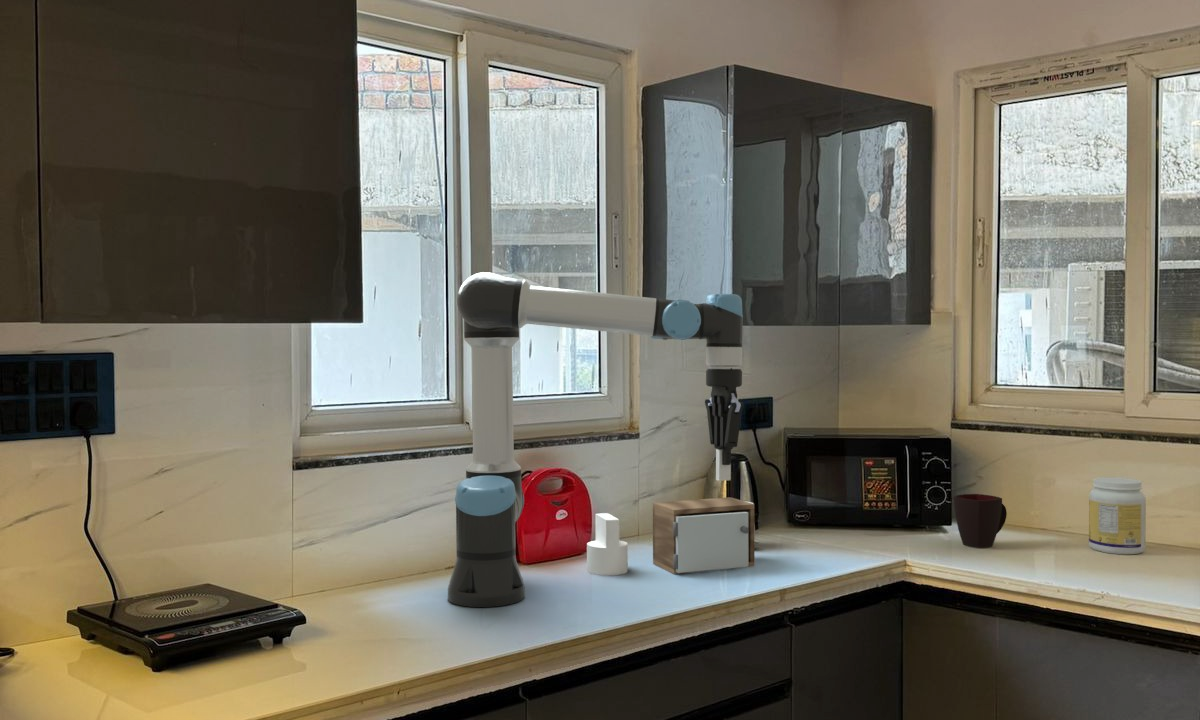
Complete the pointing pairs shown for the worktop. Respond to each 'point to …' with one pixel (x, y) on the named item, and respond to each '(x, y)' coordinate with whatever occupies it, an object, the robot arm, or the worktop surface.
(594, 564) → the base with upright slab
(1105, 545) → the supplement tub
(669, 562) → the cabinet
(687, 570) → the door
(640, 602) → the worktop surface
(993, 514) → the mug
